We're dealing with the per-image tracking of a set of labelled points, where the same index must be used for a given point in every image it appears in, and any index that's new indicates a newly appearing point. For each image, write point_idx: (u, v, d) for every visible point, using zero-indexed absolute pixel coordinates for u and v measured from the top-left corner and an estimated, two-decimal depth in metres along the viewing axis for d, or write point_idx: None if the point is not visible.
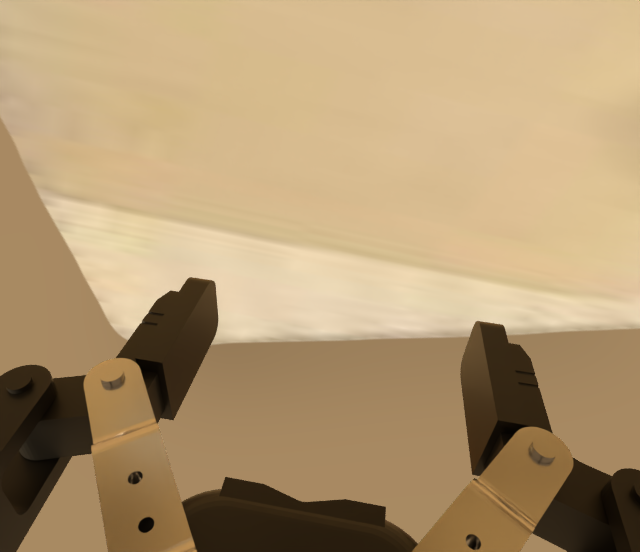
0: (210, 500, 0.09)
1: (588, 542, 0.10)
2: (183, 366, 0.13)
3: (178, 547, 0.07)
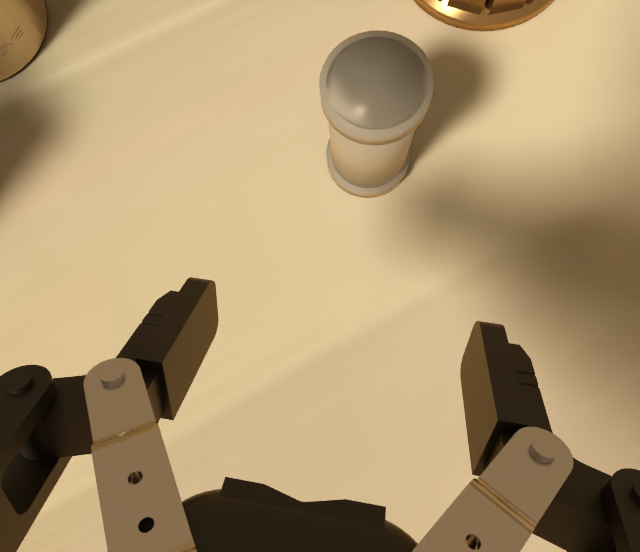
0: (210, 500, 0.09)
1: (588, 542, 0.10)
2: (183, 366, 0.13)
3: (178, 546, 0.07)
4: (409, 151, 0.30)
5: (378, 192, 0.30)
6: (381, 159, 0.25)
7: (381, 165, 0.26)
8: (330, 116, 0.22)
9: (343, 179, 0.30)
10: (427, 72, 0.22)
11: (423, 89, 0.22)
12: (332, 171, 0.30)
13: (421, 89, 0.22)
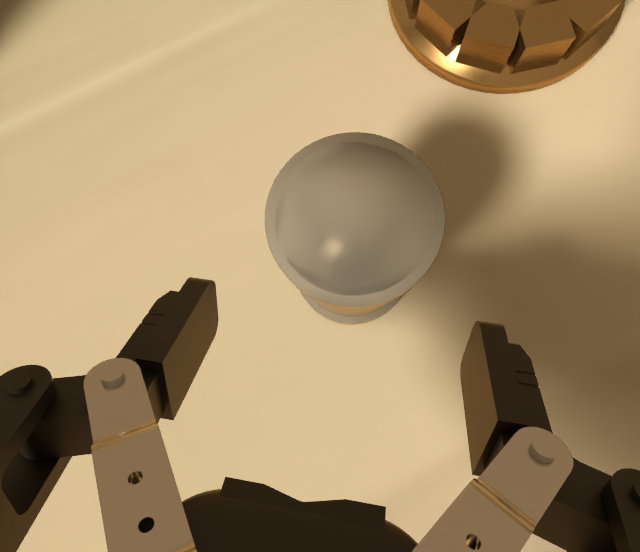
0: (210, 500, 0.09)
1: (588, 542, 0.10)
2: (183, 366, 0.13)
3: (178, 547, 0.07)
4: None
5: (366, 321, 0.22)
6: None
7: (367, 308, 0.18)
8: (282, 270, 0.14)
9: (317, 304, 0.22)
10: (434, 200, 0.14)
11: (428, 228, 0.14)
12: (302, 292, 0.22)
13: (425, 228, 0.14)
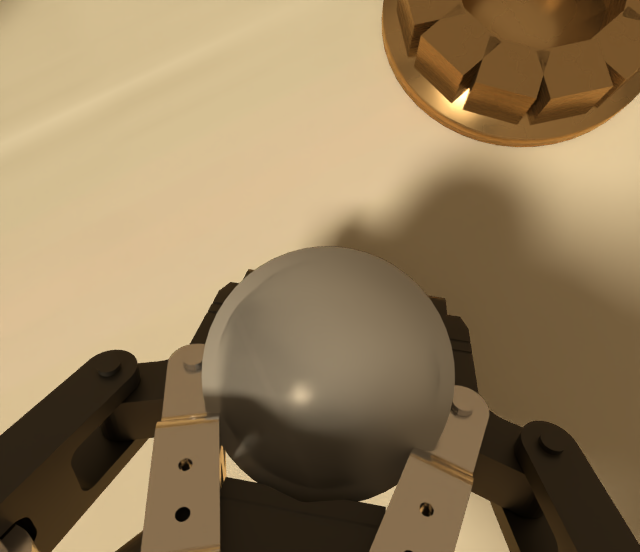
0: None
1: (503, 489, 0.10)
2: None
3: (205, 546, 0.07)
4: None
5: None
6: None
7: None
8: None
9: None
10: (439, 348, 0.10)
11: (431, 390, 0.10)
12: None
13: (426, 390, 0.10)
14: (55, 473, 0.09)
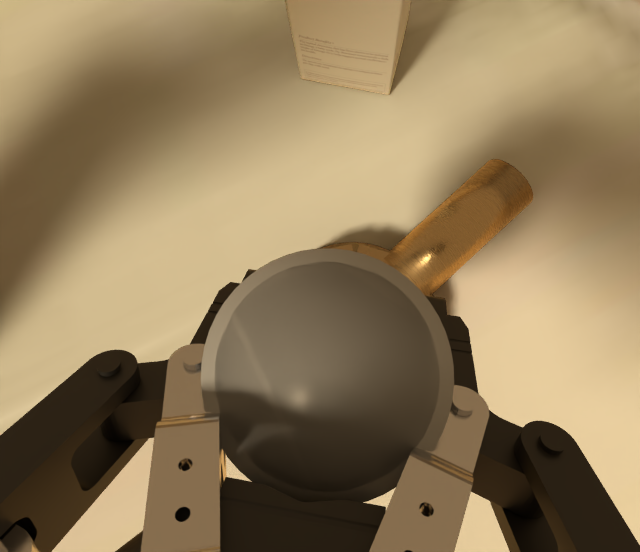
0: None
1: (503, 489, 0.10)
2: None
3: (205, 547, 0.07)
4: None
5: None
6: None
7: None
8: None
9: None
10: (438, 351, 0.10)
11: (430, 392, 0.10)
12: None
13: (425, 392, 0.10)
14: (55, 473, 0.09)
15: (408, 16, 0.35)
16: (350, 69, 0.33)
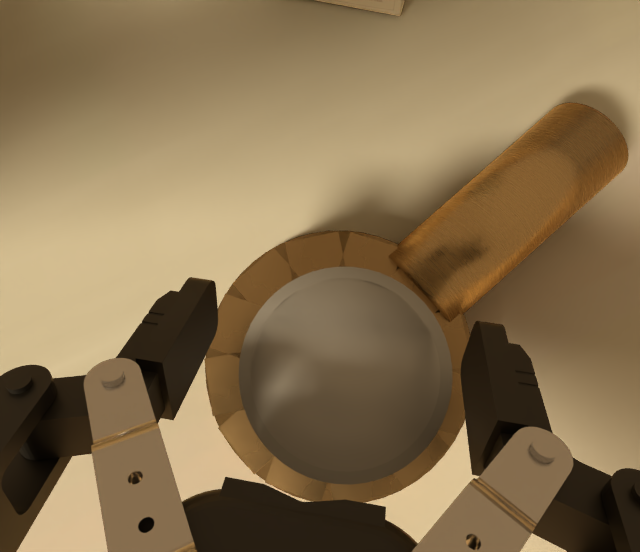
0: (210, 500, 0.09)
1: (588, 542, 0.10)
2: (183, 365, 0.13)
3: (178, 546, 0.07)
4: None
5: None
6: None
7: None
8: (258, 434, 0.12)
9: None
10: (440, 355, 0.12)
11: (432, 389, 0.12)
12: None
13: (428, 389, 0.12)
14: None
15: None
16: None
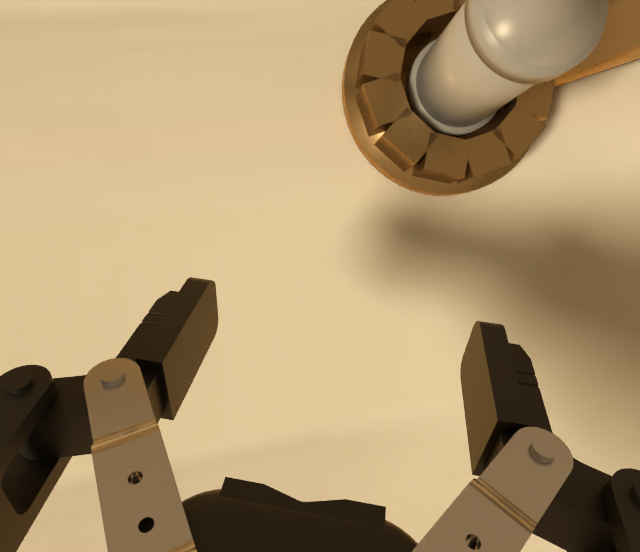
0: (210, 500, 0.09)
1: (588, 542, 0.10)
2: (183, 365, 0.13)
3: (179, 547, 0.07)
4: None
5: (449, 133, 0.26)
6: (488, 98, 0.21)
7: (480, 105, 0.22)
8: (476, 20, 0.18)
9: (420, 102, 0.25)
10: (600, 18, 0.18)
11: (588, 36, 0.18)
12: (411, 88, 0.25)
13: (586, 35, 0.18)
14: None
15: None
16: None
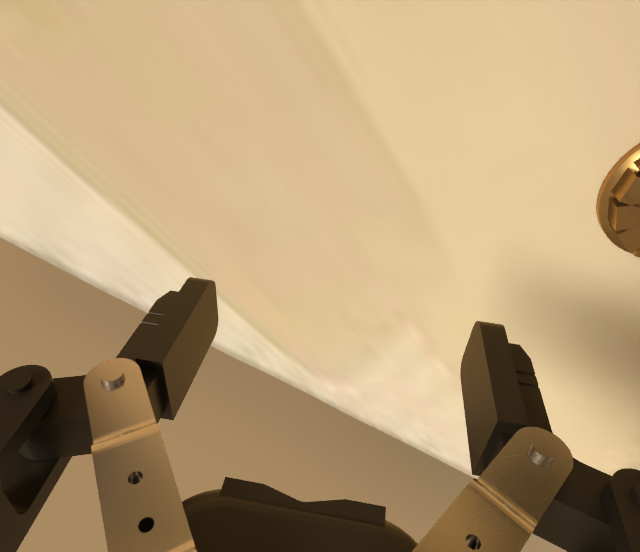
0: (210, 500, 0.09)
1: (588, 542, 0.10)
2: (183, 366, 0.13)
3: (178, 547, 0.07)
4: None
5: None
6: None
7: None
8: None
9: None
10: None
11: None
12: None
13: None
14: None
15: None
16: None
